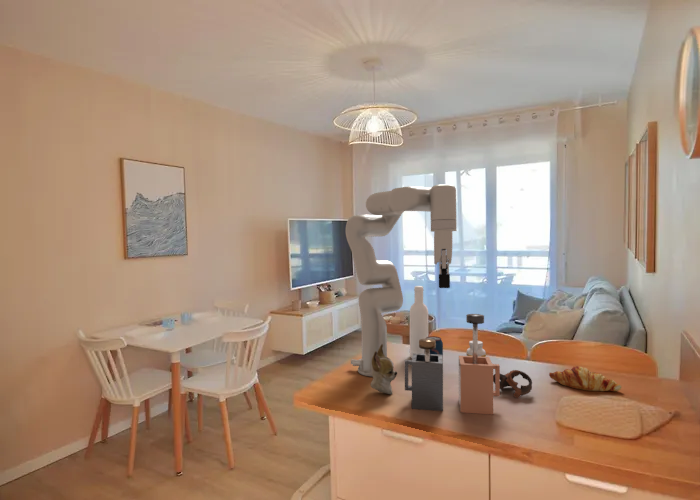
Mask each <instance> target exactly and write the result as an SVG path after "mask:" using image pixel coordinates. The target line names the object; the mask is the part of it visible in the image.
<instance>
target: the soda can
mask: <svg viewBox="0 0 700 500" xmlns="http://www.w3.org/2000/svg"><path fill="white" fill-rule="evenodd" d="M426 339H433V340H435V341H436V348H435V349H430V354H435V355H442V359H443V360H444V343H443V340H442V338H441V337H440V336H434V335H431V336H430V335H428V337H426Z"/></svg>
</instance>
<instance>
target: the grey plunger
mask: <svg viewBox="0 0 700 500" xmlns="http://www.w3.org/2000/svg"><path fill="white" fill-rule="evenodd" d="M465 317H466V319H465V320H466V321H465V322H466V323H468V324H472V341H473V364H478V341H479V340H478V339H479V338H478V337H479V335H478V333H479V330H478V329H479V328H478V327H479V326H478V325H481V324H484V323H485V315H484V314H481V313H480V314H479V313H468V314H466V316H465Z"/></svg>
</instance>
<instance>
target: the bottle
mask: <svg viewBox="0 0 700 500" xmlns="http://www.w3.org/2000/svg"><path fill="white" fill-rule="evenodd" d="M413 291H414V303H412V304H411V306H410V308H409V357H410V358H411V359H412V357H413V354H425V349H421V348H419V340H420V339H426V337H429V309H428V306H427V305H426V304H425V302H424V291H425V290H424V286H422V285H415V286H414V289H413Z"/></svg>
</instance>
